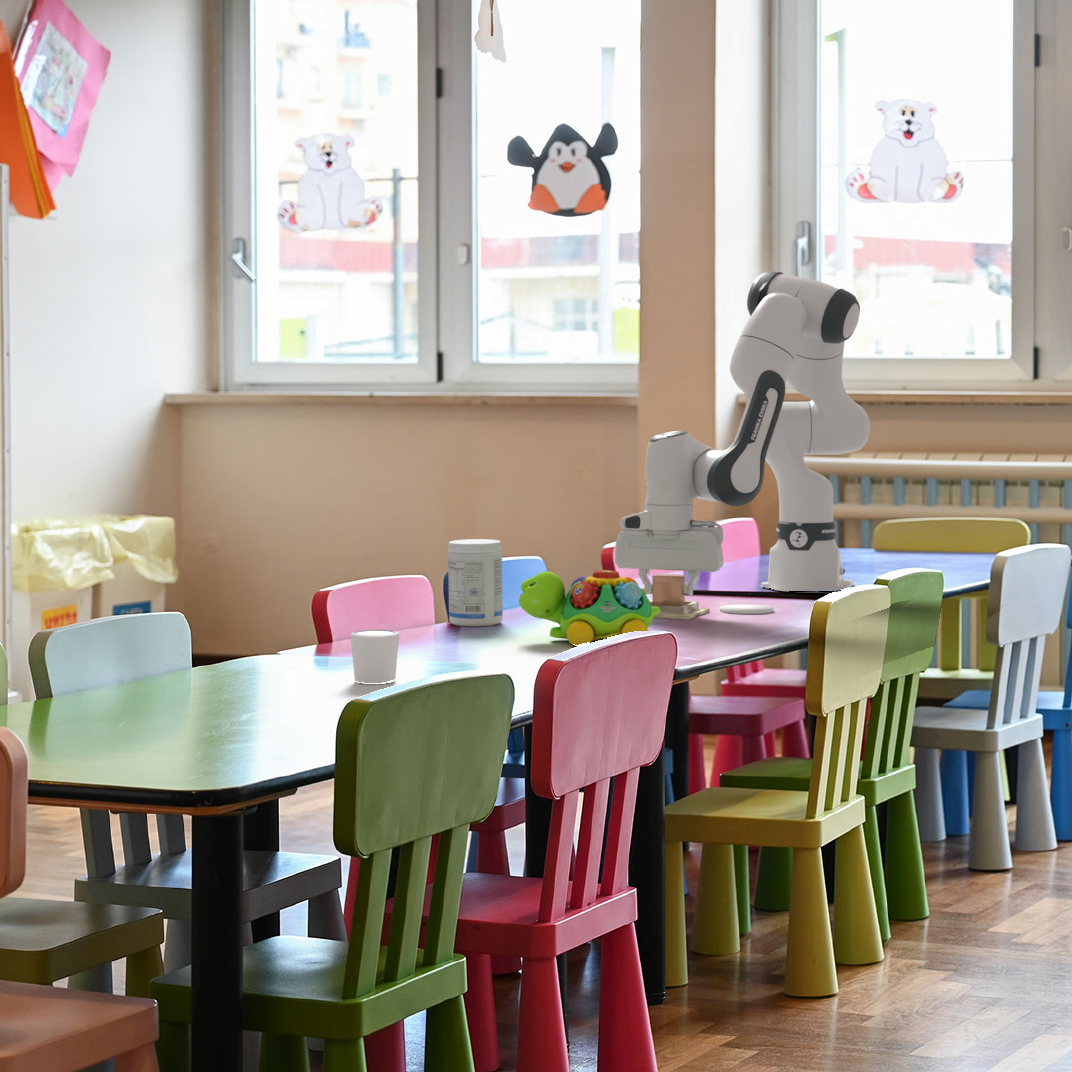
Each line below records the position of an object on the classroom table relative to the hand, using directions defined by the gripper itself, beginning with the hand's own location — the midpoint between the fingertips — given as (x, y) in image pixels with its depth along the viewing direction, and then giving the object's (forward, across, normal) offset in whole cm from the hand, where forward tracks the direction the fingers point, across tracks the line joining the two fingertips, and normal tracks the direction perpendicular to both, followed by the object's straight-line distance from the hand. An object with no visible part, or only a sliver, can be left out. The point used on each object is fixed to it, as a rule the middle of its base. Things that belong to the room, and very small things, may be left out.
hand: (668, 594), depth 318 cm
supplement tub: (+4, +27, +26) cm, 38 cm away
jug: (+3, 0, +2) cm, 3 cm away
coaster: (+4, -12, -10) cm, 16 cm away
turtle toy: (+4, 0, +38) cm, 39 cm away
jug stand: (+4, 0, 0) cm, 4 cm away
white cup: (+4, +13, +88) cm, 89 cm away
